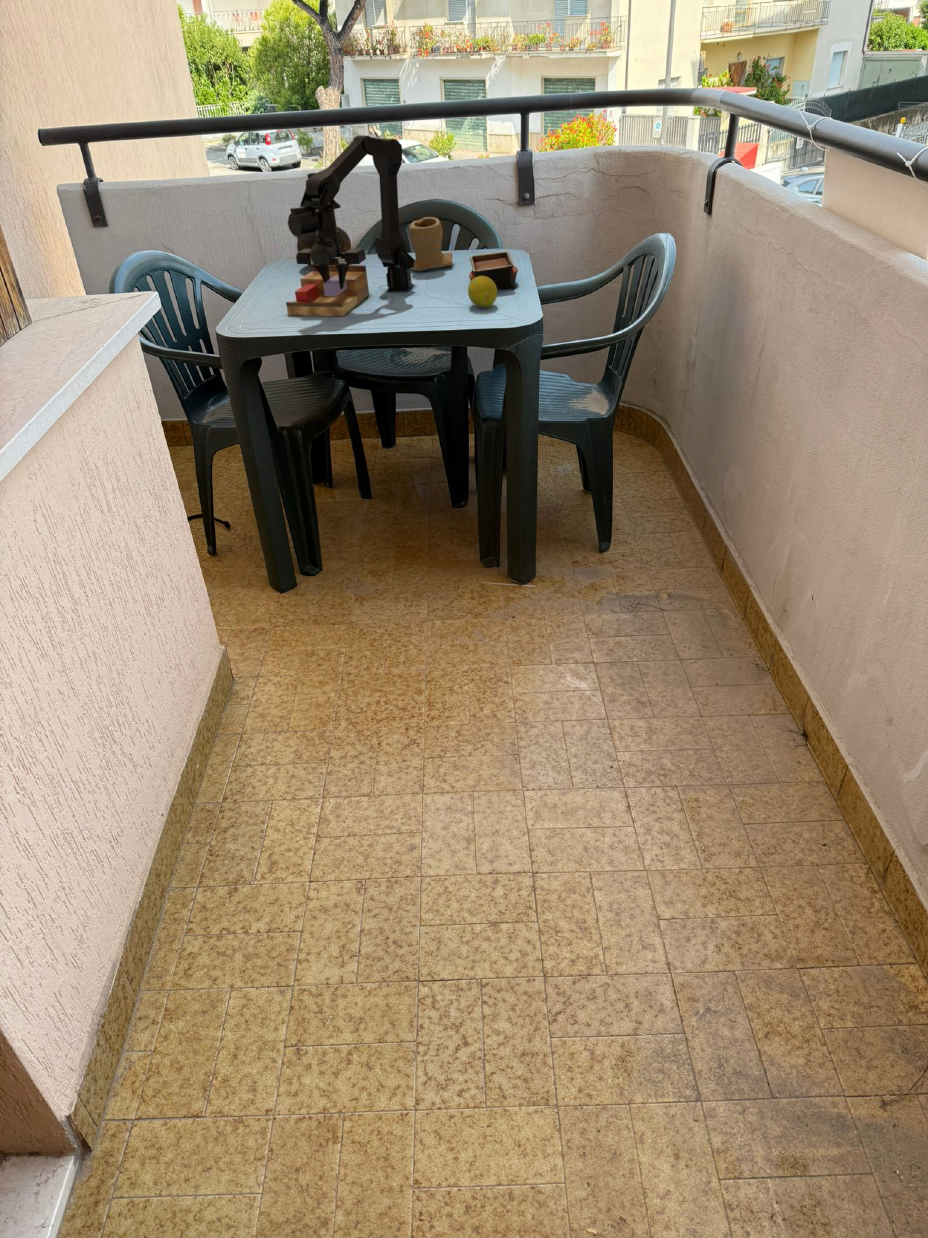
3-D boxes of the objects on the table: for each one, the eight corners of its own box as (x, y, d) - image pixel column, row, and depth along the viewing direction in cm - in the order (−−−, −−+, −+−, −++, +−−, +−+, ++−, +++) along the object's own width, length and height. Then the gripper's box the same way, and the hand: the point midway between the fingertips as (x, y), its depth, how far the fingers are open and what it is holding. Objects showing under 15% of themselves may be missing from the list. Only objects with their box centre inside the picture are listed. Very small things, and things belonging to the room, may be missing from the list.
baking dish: (468, 300, 245) (468, 266, 238) (469, 274, 258) (469, 241, 250) (517, 301, 245) (519, 267, 238) (516, 275, 257) (517, 242, 250)
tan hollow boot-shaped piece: (414, 276, 264) (409, 224, 255) (406, 267, 273) (401, 217, 264) (460, 269, 266) (457, 218, 257) (451, 261, 276) (447, 211, 267)
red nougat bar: (319, 296, 243) (317, 284, 241) (308, 304, 237) (306, 291, 235) (307, 296, 244) (305, 283, 242) (296, 303, 238) (294, 291, 236)
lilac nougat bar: (346, 288, 239) (345, 276, 237) (336, 296, 233) (334, 283, 231) (335, 288, 240) (333, 275, 238) (324, 296, 234) (322, 283, 232)
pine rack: (369, 295, 249) (365, 264, 244) (343, 316, 234) (338, 284, 229) (317, 294, 254) (312, 264, 249) (288, 315, 238) (282, 283, 233)
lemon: (500, 310, 229) (499, 279, 224) (472, 313, 228) (470, 282, 224) (493, 299, 238) (492, 269, 233) (466, 302, 237) (464, 272, 232)
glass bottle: (310, 260, 289) (295, 169, 273) (359, 258, 286) (348, 166, 270) (293, 273, 275) (276, 179, 259) (345, 272, 272) (331, 176, 256)
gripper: (282, 236, 223) (293, 296, 232) (347, 235, 218) (355, 297, 227) (299, 226, 231) (309, 285, 241) (362, 225, 227) (370, 285, 236)
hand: (335, 288), depth 236 cm, fingers closed on lilac nougat bar, 3 cm apart
